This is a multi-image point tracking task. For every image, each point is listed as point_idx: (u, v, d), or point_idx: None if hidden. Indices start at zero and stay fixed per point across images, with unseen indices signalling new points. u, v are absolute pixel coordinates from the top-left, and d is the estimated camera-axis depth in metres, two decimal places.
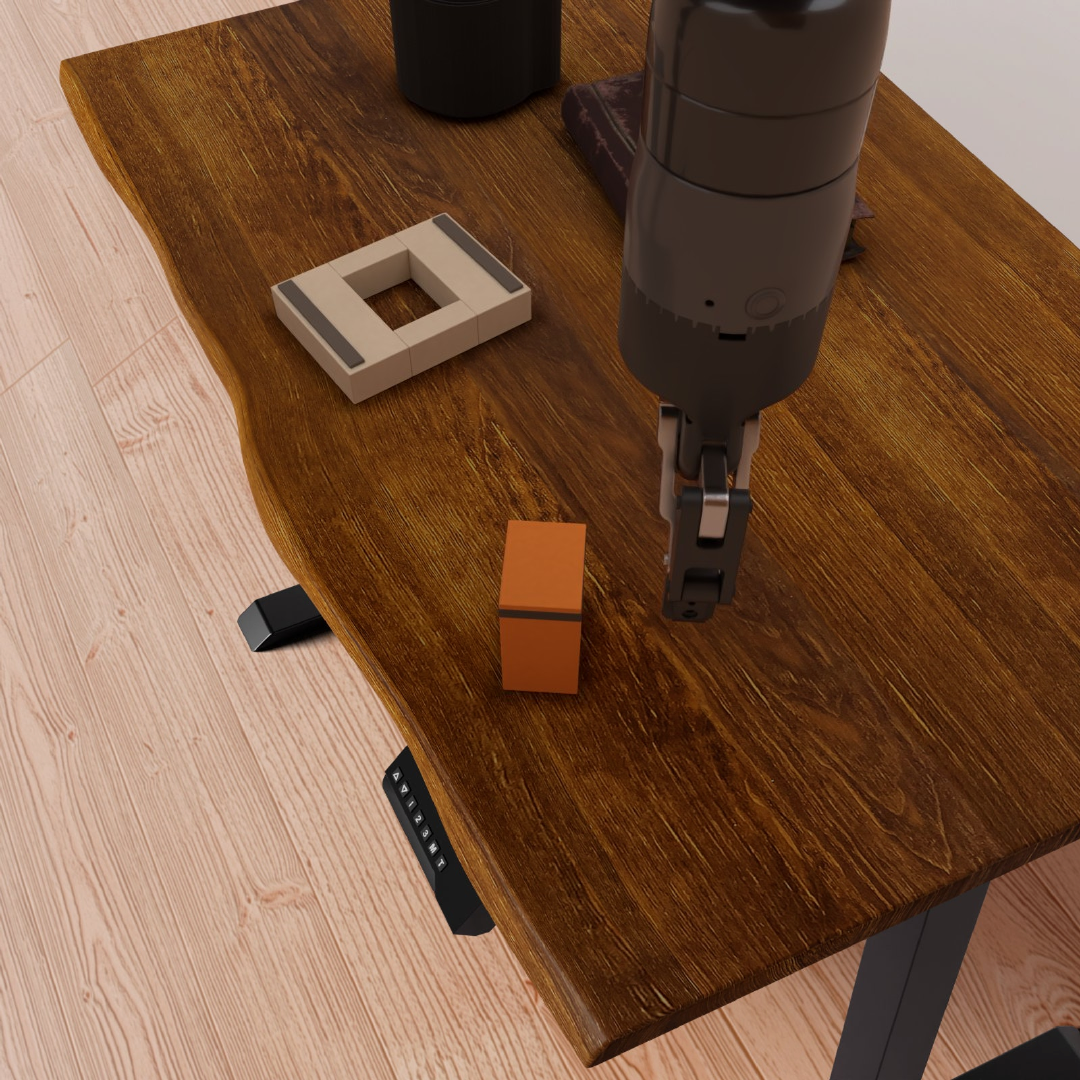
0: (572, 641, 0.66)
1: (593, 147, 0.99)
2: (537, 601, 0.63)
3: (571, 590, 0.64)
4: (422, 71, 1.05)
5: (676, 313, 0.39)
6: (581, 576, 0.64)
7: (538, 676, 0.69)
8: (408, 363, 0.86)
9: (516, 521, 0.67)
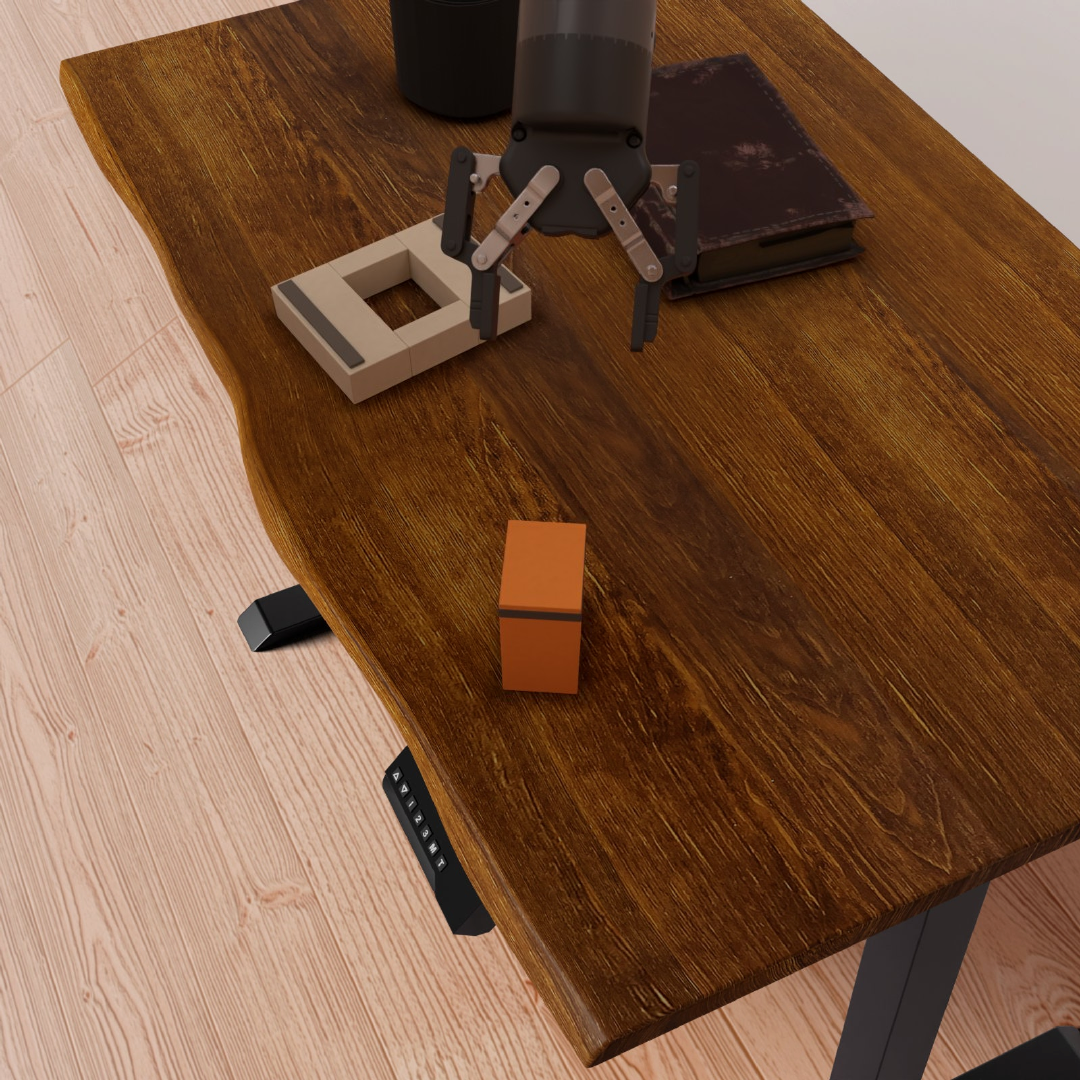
0: (572, 641, 0.66)
1: None
2: (537, 601, 0.63)
3: (571, 590, 0.64)
4: (422, 71, 1.05)
5: (641, 46, 0.61)
6: (581, 576, 0.64)
7: (538, 676, 0.69)
8: (408, 363, 0.86)
9: (516, 521, 0.67)
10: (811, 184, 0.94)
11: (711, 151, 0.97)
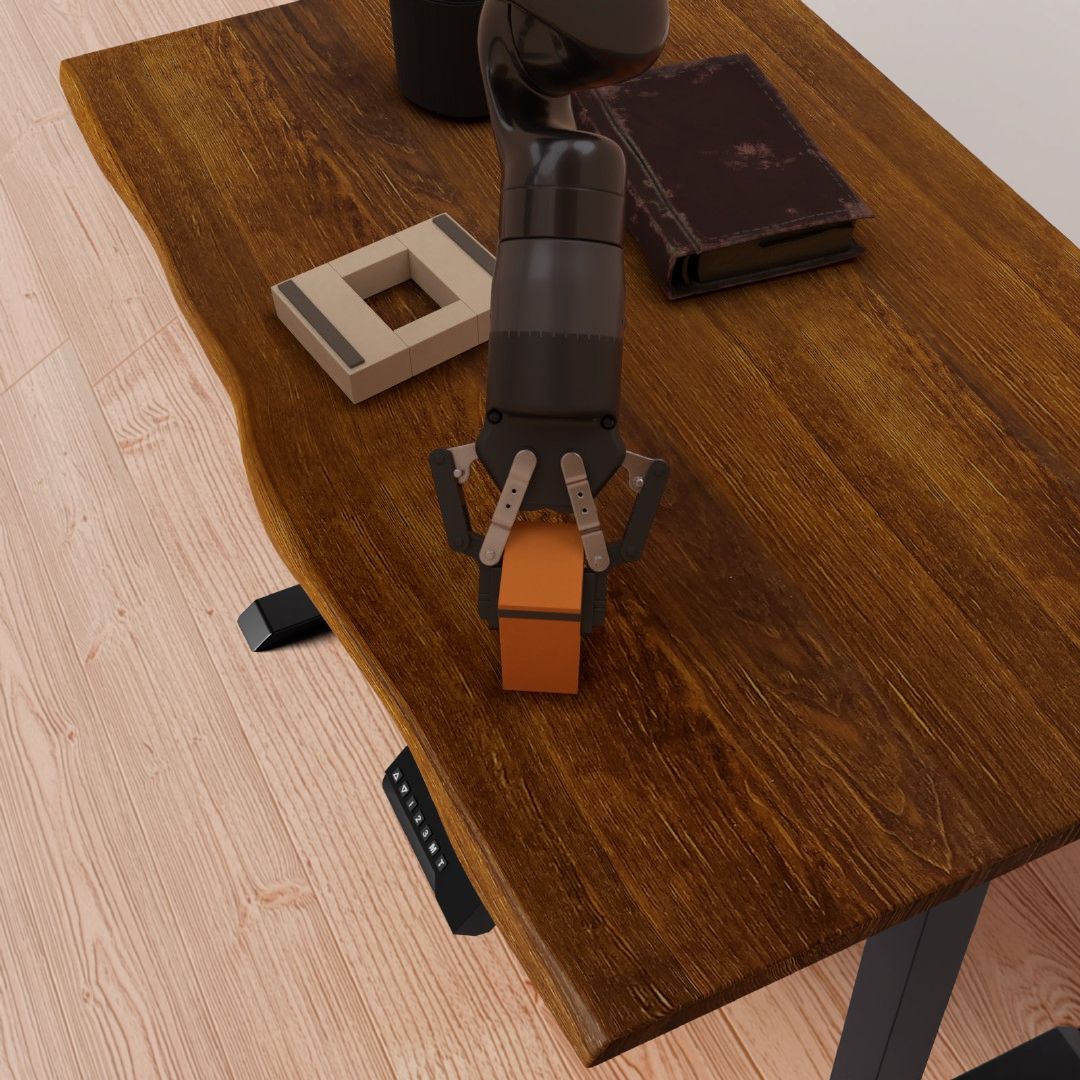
0: (572, 641, 0.66)
1: None
2: (536, 601, 0.63)
3: (570, 590, 0.64)
4: (422, 71, 1.05)
5: (613, 336, 0.63)
6: (580, 576, 0.64)
7: (538, 676, 0.69)
8: (408, 363, 0.86)
9: (515, 521, 0.67)
10: (811, 184, 0.94)
11: (711, 151, 0.97)
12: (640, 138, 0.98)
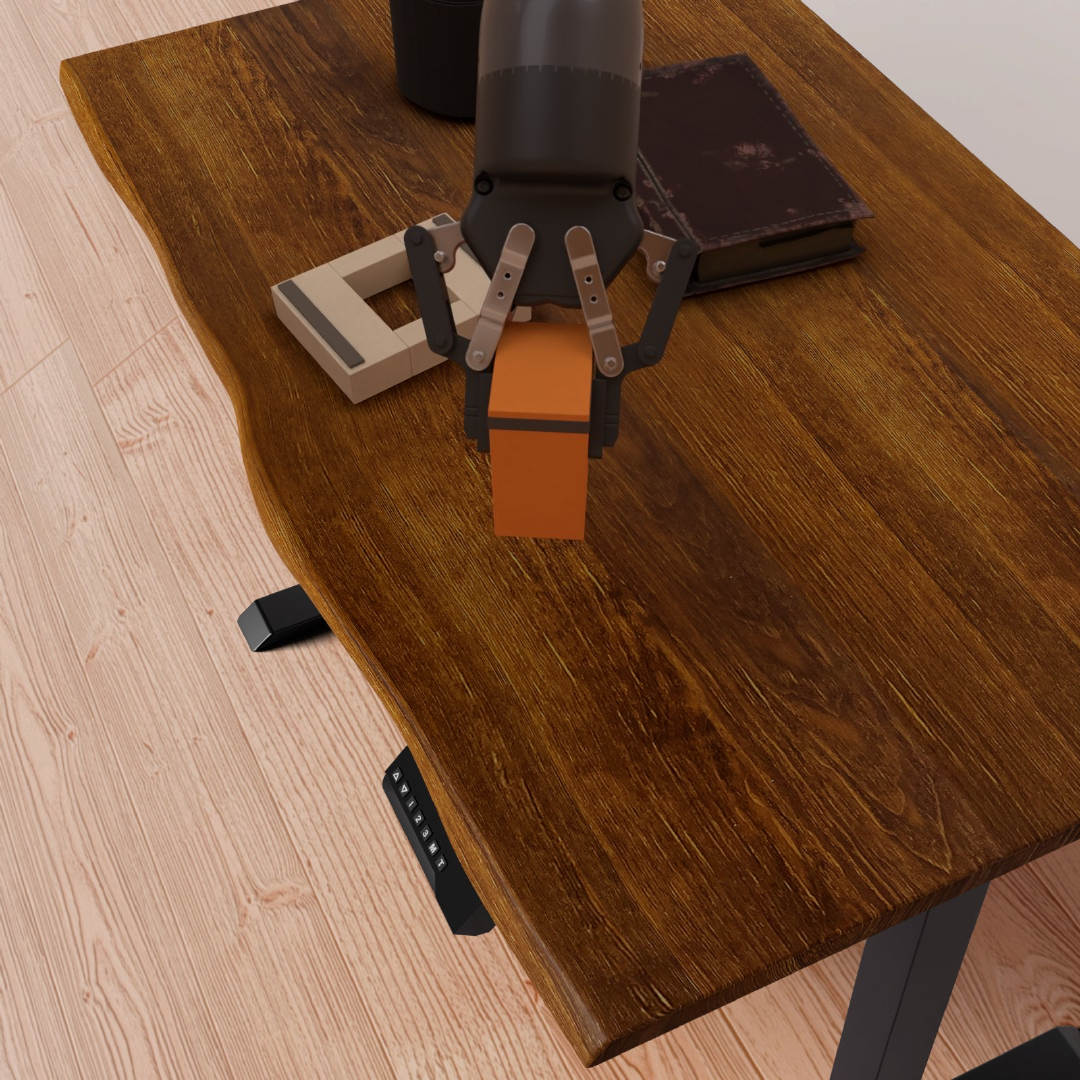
0: (578, 463, 0.54)
1: None
2: (535, 407, 0.52)
3: (577, 395, 0.52)
4: (422, 71, 1.05)
5: (629, 80, 0.51)
6: (589, 380, 0.53)
7: (537, 515, 0.57)
8: (408, 363, 0.86)
9: (509, 322, 0.55)
10: (811, 184, 0.94)
11: (711, 151, 0.97)
12: (640, 138, 0.98)
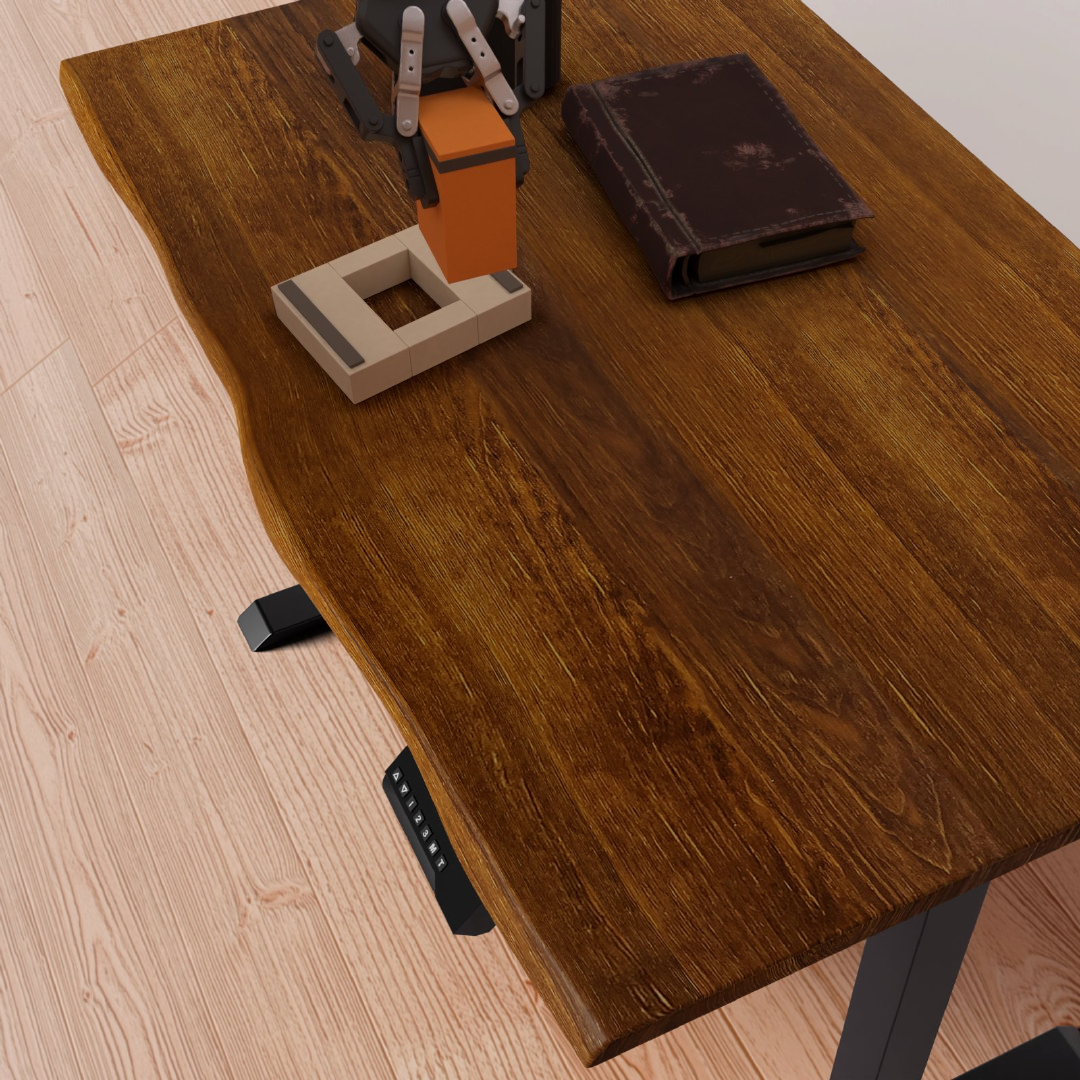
0: (509, 189, 0.67)
1: (593, 147, 0.99)
2: (472, 144, 0.65)
3: (497, 129, 0.65)
4: None
5: None
6: (500, 118, 0.66)
7: (480, 252, 0.70)
8: (408, 363, 0.86)
9: None
10: (811, 184, 0.94)
11: (711, 151, 0.97)
12: (640, 138, 0.98)
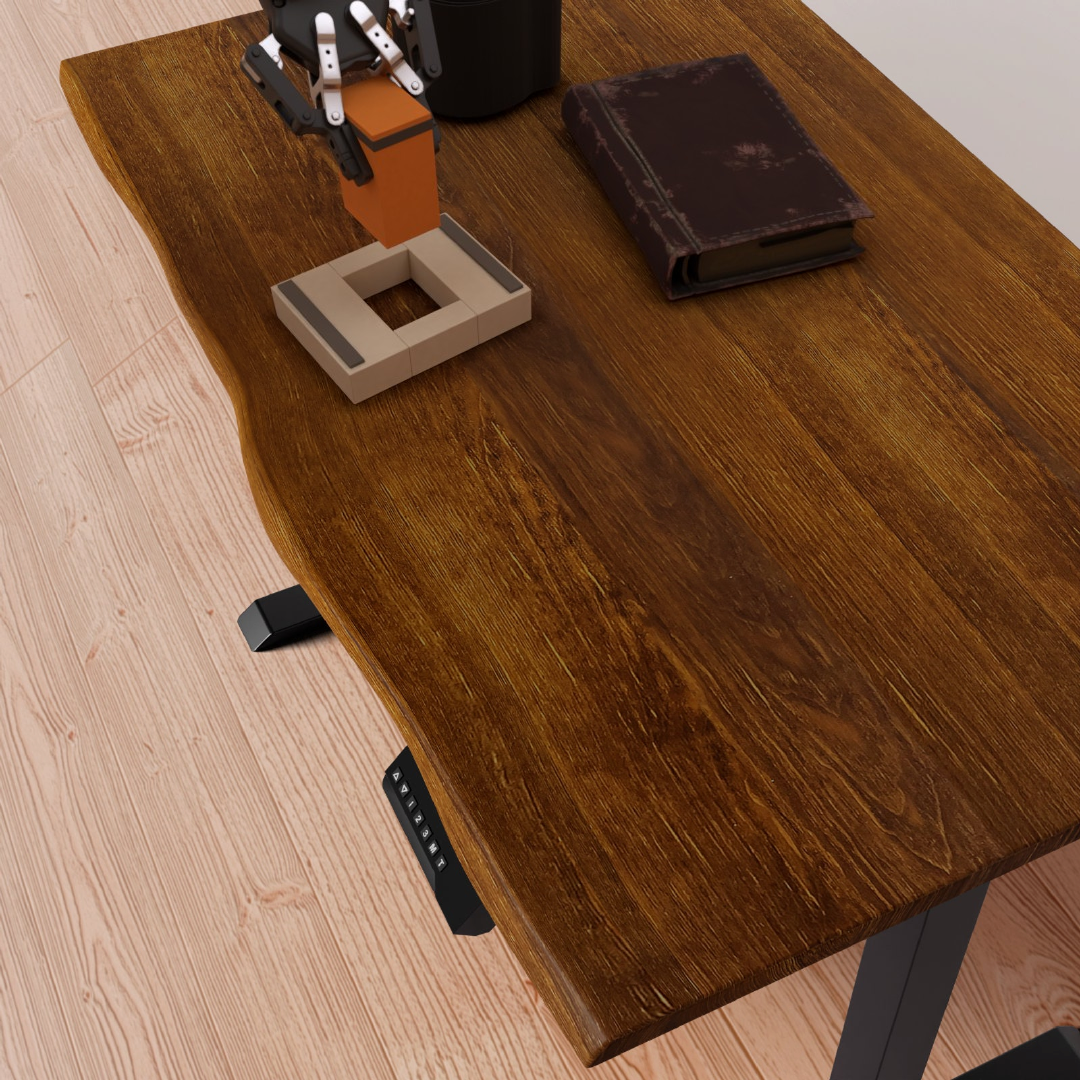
0: (430, 157, 0.78)
1: (593, 147, 0.99)
2: (397, 122, 0.75)
3: (413, 107, 0.76)
4: None
5: None
6: (412, 97, 0.77)
7: (411, 216, 0.81)
8: (408, 363, 0.86)
9: None
10: (811, 184, 0.94)
11: (711, 151, 0.97)
12: (640, 138, 0.98)
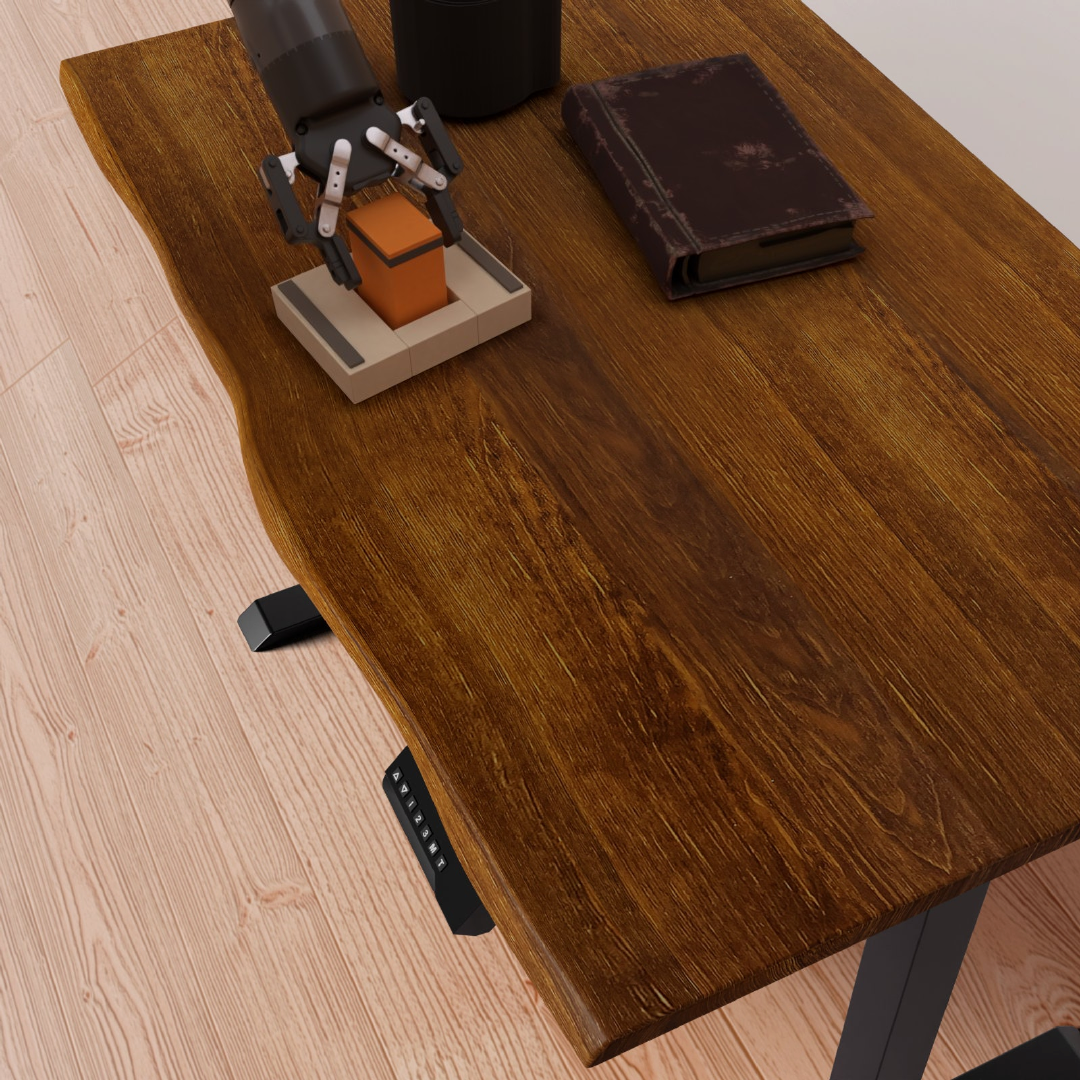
0: (440, 269, 0.86)
1: (593, 147, 0.99)
2: (411, 241, 0.83)
3: (425, 226, 0.84)
4: (422, 71, 1.05)
5: (353, 32, 0.82)
6: (424, 216, 0.84)
7: None
8: (408, 363, 0.86)
9: (352, 211, 0.85)
10: (811, 184, 0.94)
11: (711, 151, 0.97)
12: (640, 138, 0.98)
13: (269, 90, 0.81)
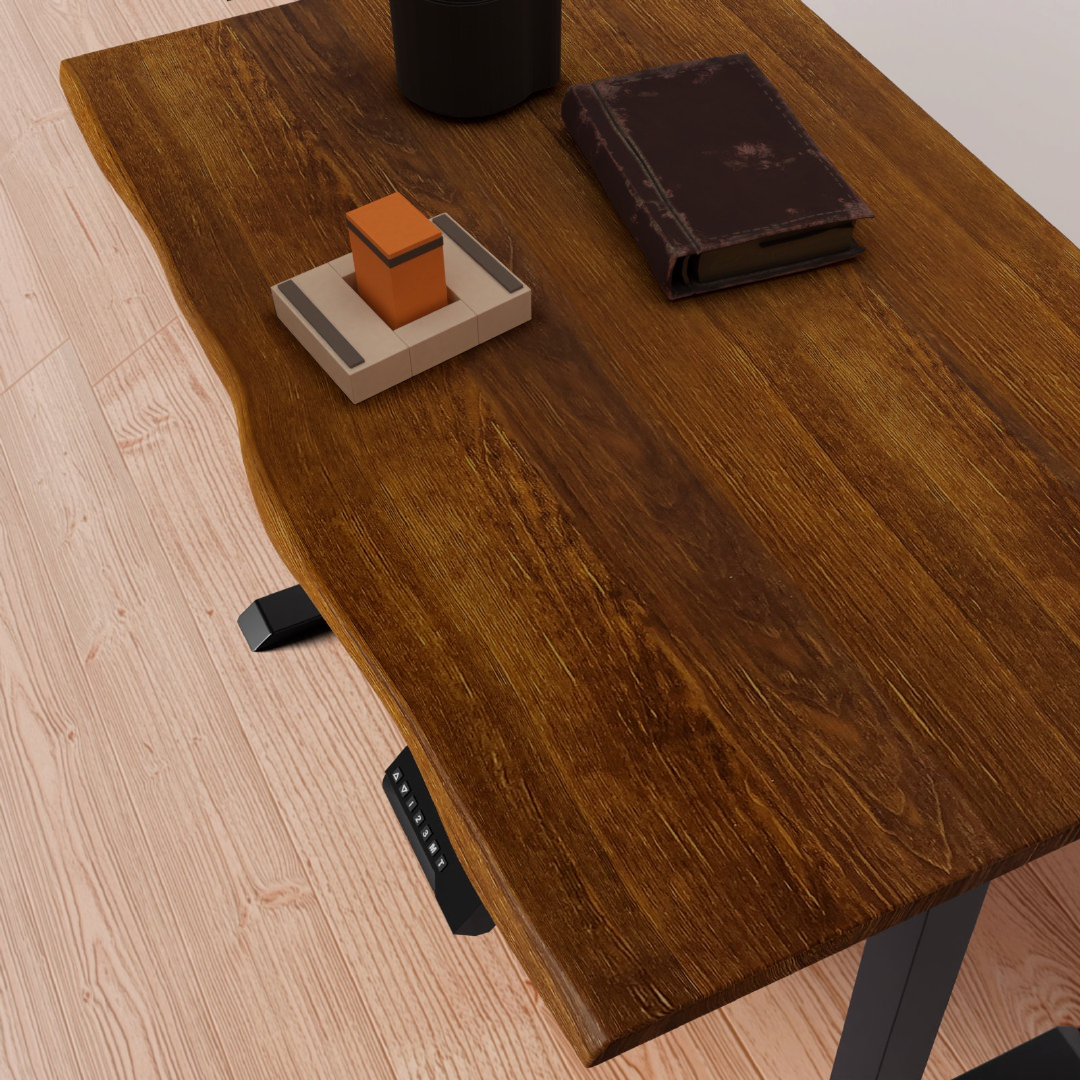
0: (440, 269, 0.86)
1: (593, 147, 0.99)
2: (411, 241, 0.83)
3: (425, 226, 0.84)
4: (422, 71, 1.05)
5: None
6: (424, 216, 0.84)
7: None
8: (408, 363, 0.86)
9: (352, 211, 0.85)
10: (811, 184, 0.94)
11: (711, 151, 0.97)
12: (640, 138, 0.98)
13: None
